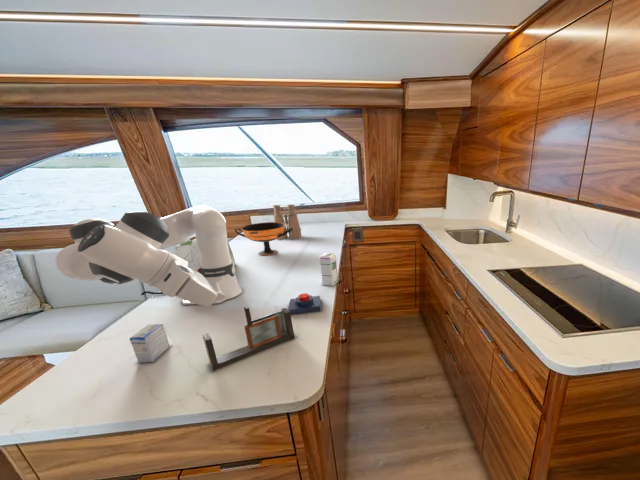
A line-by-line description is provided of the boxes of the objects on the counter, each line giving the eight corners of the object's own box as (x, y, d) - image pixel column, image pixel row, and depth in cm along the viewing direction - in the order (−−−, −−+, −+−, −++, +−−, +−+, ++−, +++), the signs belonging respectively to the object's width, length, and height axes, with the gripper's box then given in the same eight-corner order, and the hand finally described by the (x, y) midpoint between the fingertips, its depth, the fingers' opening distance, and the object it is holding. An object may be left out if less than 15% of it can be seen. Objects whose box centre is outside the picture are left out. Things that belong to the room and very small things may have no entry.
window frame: (213, 370, 85) (205, 340, 81) (210, 364, 87) (202, 335, 84) (294, 338, 100) (290, 311, 96) (289, 333, 102) (285, 307, 99)
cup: (301, 247, 205) (298, 221, 199) (288, 258, 181) (284, 230, 175) (249, 247, 205) (245, 222, 199) (230, 259, 181) (223, 231, 175)
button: (298, 302, 117) (298, 298, 116) (299, 297, 121) (298, 294, 120) (309, 300, 118) (308, 296, 117) (309, 296, 121) (308, 292, 121)
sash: (249, 350, 91) (241, 310, 86) (248, 348, 91) (240, 308, 87) (282, 337, 97) (275, 299, 92) (280, 335, 98) (274, 298, 93)
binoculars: (303, 235, 236) (299, 203, 227) (300, 238, 226) (295, 205, 218) (277, 236, 235) (272, 204, 226) (272, 239, 225) (267, 206, 217)
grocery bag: (212, 264, 172) (202, 225, 164) (236, 264, 173) (228, 224, 165) (176, 287, 142) (163, 240, 134) (207, 285, 143) (195, 239, 135)
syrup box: (333, 285, 141) (330, 256, 136) (322, 285, 142) (319, 256, 137) (338, 281, 146) (335, 253, 141) (327, 280, 147) (324, 252, 142)
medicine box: (156, 347, 96) (148, 323, 93) (170, 346, 96) (163, 323, 93) (137, 363, 88) (128, 338, 85) (153, 362, 89) (144, 337, 86)
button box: (288, 315, 114) (287, 305, 113) (290, 303, 124) (289, 295, 122) (320, 311, 117) (319, 302, 116) (320, 300, 126) (319, 291, 125)
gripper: (156, 273, 80) (207, 295, 89) (165, 297, 65) (224, 320, 75) (172, 253, 81) (220, 277, 90) (184, 273, 66) (240, 298, 76)
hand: (222, 297), depth 82 cm, fingers closed
